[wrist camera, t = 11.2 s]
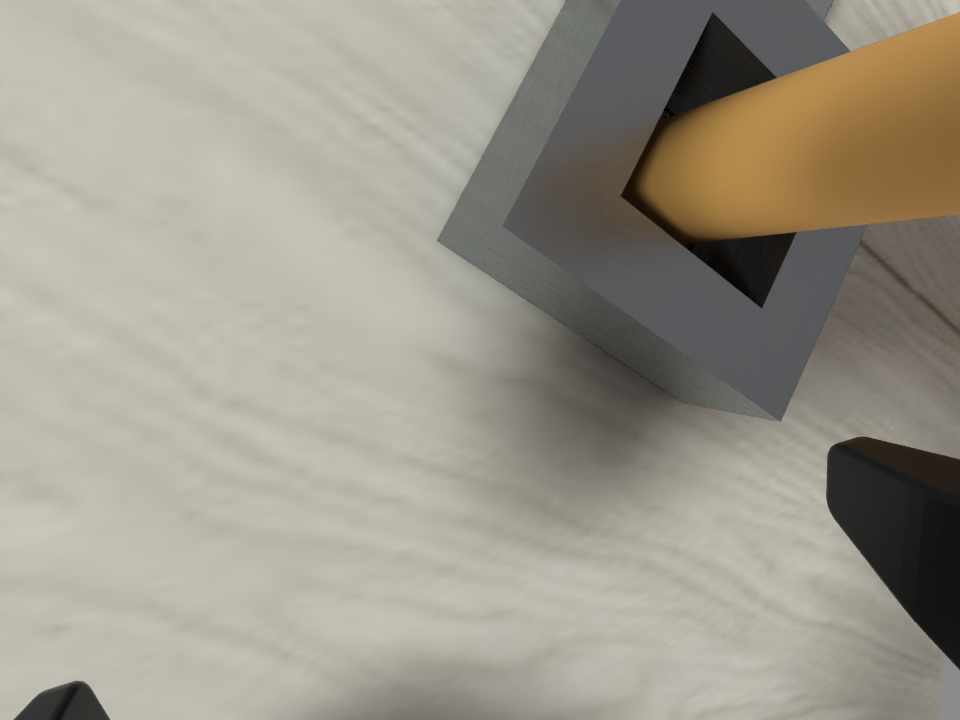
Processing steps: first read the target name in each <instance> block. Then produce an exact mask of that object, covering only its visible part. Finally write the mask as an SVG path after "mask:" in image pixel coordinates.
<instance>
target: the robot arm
mask: <svg viewBox="0 0 960 720" xmlns="http://www.w3.org/2000/svg"><path fill="white" fill-rule="evenodd" d="M826 499H827V504H828V507H829V510H830V512H831V514H832V516H833V517H834V519H835V520H836V522H837V523H838V524H839V526H840V527H841V528H842V529H843V531H844V532H845V533H846V535H847V536H848V537H849V539H850V540H851V541H852V542H853V544H854V545H855V546H856V548H857V549H858V550H859V551H860V553H861V554H862V555H863V557H864V558H865V559H866V560H867V562H868V563H869V564H870V566H871V567H872V568H873V569H874V571H875V572H876V573H877V575H878V576H879V577H880V579H881V580H882V581H883V582H884V584H885V585H886V586H887V588H888V589H889V590H890V591H891V593H892V594H893V595H894V597H895V598H896V599H897V600H898V602H899V603H900V604H901V605H902V607H903V608H904V609H905V610H906V611H907V613H908V614H909V615H910V616H911V618H912V619H913V620H914V621H915V622H916V623H917V624H918V625H919V627H920V628H921V629H922V630H923V631H924V632H925V633H926V634H927V635H928V637H929V638H930V639H931V640H932V641H933V642H934V643H935V644H936V645H937V646H938V647H939V648H940V649H941V650H942V652H943V653H944V654H945V655H946V656H947V657H948V658H949V659H950V660H951V661H952V662H953V663H954V664H955V665H956V666H957V667H958V669H959V670H960V459H956V458H952V457H948V456H944V455H940V454H935V453H931V452H927V451H923V450H919V449H915V448H910V447H906V446H902V445H898V444H894V443H890V442H885V441H881V440H877V439H873V438H869V437H857V438H853V439H850V440H847V441H844V442H840V443H837V444H835V445H833V446H832V447H831V448H830V450H829V452H828V456H827V490H826ZM14 720H110V718H109V717H108V715H107V714H106V712H105V710H104V709H103V707H102V705H101V704H100V702H99V701H98V699H97V697H96V696H95V694H94V692H93V691H92V689H91V688H90V687H89V685H88V684H86V683H85V682H83V681H73V682H70V683H67V684H64V685H60V686H57V687H54V688H51V689H48V690H45V691H43V692H41V693H40V694H38V695H37V696H36V697H35V698H34V699H33V700H32V701H31V702H30V703H29V704H28V705H27V706H26V707H25V708H24V709H23V711H22V712H21V713H20V714H19V715H18V716H17V717H16V718H15V719H14Z"/></svg>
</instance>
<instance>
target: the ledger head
mask: <svg viewBox="0 0 960 720" xmlns="http://www.w3.org/2000/svg"><path fill="white" fill-rule="evenodd" d="M833 1H834V0H566V2H565V3H564V5H563V7H562V9H561V11H560V13H559V15H558V17H557V18H556V20H555V22H554V24H553V26H552V28H551V30H550V31H549V33H548V35H547V37H546V39H545V41H544V43H543V44H542V46H541V48H540V50H539V52H538V54H537V56H536V57H535V59H534V61H533V63H532V65H531V67H530V69H529V70H528V72H527V74H526V76H525V78H524V80H523V82H522V83H521V85H520V87H519V89H518V91H517V93H516V95H515V96H514V98H513V100H512V102H511V104H510V106H509V108H508V109H507V111H506V113H505V115H504V117H503V119H502V121H501V122H500V124H499V126H498V128H497V130H496V132H495V134H494V135H493V137H492V139H491V141H490V143H489V145H488V147H487V149H486V150H485V152H484V154H483V156H482V158H481V160H480V162H479V163H478V165H477V167H476V169H475V171H474V173H473V175H472V176H471V178H470V180H469V182H468V184H467V186H466V188H465V189H464V191H463V193H462V195H461V197H460V199H459V201H458V202H457V204H456V206H455V208H454V210H453V212H452V214H451V215H450V217H449V219H448V221H447V223H446V225H445V227H444V228H443V230H442V232H441V234H440V236H439V238H438V240H437V241H438V242H439V243H441V244H442V245H444V246H445V247H447V248H448V249H450V250H452V251H453V252H455V253H456V254H458V255H459V256H461V257H462V258H464V259H465V260H467V261H468V262H470V263H471V264H473V265H474V266H476V267H477V268H479V269H480V270H482V271H483V272H485V273H486V274H488V275H489V276H491V277H492V278H494V279H496V280H497V281H499V282H500V283H502V284H503V285H505V286H506V287H508V288H509V289H511V290H512V291H514V292H515V293H517V294H518V295H520V296H521V297H523V298H524V299H526V300H527V301H529V302H530V303H532V304H533V305H535V306H536V307H538V308H540V309H541V310H543V311H544V312H546V313H547V314H549V315H550V316H552V317H553V318H555V319H556V320H558V321H559V322H561V323H562V324H564V325H565V326H567V327H568V328H570V329H571V330H573V331H574V332H576V333H577V334H579V335H580V336H582V337H583V338H585V339H587V340H588V341H590V342H591V343H593V344H594V345H596V346H597V347H599V348H600V349H602V350H603V351H605V352H606V353H608V354H609V355H611V356H612V357H614V358H615V359H617V360H618V361H620V362H621V363H623V364H624V365H626V366H627V367H629V368H631V369H632V370H634V371H635V372H637V373H638V374H640V375H641V376H643V377H644V378H646V379H647V380H649V381H650V382H652V383H653V384H655V385H656V386H658V387H659V388H661V389H662V390H664V391H665V392H667V393H668V394H670V395H671V396H673V397H675V398H676V399H678V400H679V401H681V402H682V403H686V404H691V405H696V406H702V407H707V408H712V409H717V410H722V411H728V412H733V413H738V414H743V415H749V416H754V417H759V418H764V419H769V420H775V421H780V422H781V420H782V417H783V415H784V413H785V411H786V408H787V406H788V404H789V402H790V399H791V397H792V395H793V392H794V390H795V388H796V386H797V383H798V381H799V379H800V377H801V374H802V372H803V370H804V368H805V365H806V363H807V361H808V358H809V356H810V354H811V352H812V349H813V347H814V345H815V343H816V340H817V338H818V336H819V334H820V331H821V329H822V327H823V324H824V322H825V320H826V318H827V315H828V313H829V311H830V309H831V306H832V304H833V302H834V300H835V297H836V295H837V293H838V290H839V288H840V286H841V284H842V281H843V279H844V277H845V275H846V272H847V270H848V268H849V266H850V263H851V261H852V259H853V256H854V254H855V252H856V250H857V247H858V245H859V243H860V241H861V238H862V236H863V234H864V232H865V229H866V227H867V225H868V224H867V225H857V226H848V227H839V228H829V229H820V230H811V231H802V232H792V233H783V234H774V235H764V236H755V237H746V238H736V239H727V240H718V241H708V242H699V243H695V245H694V247H693V249H692V251H691V252H690V251H689V250H687V249H686V248H685V247H684V246H682V245H681V244H680V243H679V242H677V241H676V240H675V239H674V238H672V237H671V236H670V235H669V234H667V233H666V232H665V231H664V230H662V229H661V228H660V227H659V226H657V225H656V224H655V223H653V222H652V221H651V220H650V219H648V218H647V217H646V216H645V215H643V214H642V213H641V212H640V211H638V210H637V209H636V208H635V207H633V206H632V205H631V204H630V203H628V202H627V201H626V200H625V199H623V198H622V197H621V194H622V192H623V190H624V188H625V186H626V184H627V182H628V180H629V178H630V176H631V174H632V172H633V170H634V168H635V166H636V164H637V162H638V160H639V158H640V156H641V154H642V152H643V150H644V148H645V146H646V144H647V142H648V140H649V138H650V136H651V134H652V132H653V130H654V128H655V126H656V124H657V122H658V120H659V118H660V116H661V114H662V112H663V110H664V108H665V106H666V107H667V108H668V109H669V110H670V111H671V112H672V113H673V114H675V115H676V114H679V113H682V112H684V111H687V110H690V109H693V108H696V107H698V106H701V105H704V104H707V103H709V102H712V101H715V100H718V99H721V98H723V97H726V96H729V95H732V94H734V93H737V92H740V91H743V90H746V89H748V88H751V87H754V86H757V85H759V84H762V83H765V82H768V81H771V80H773V79H776V78H779V77H782V76H784V75H787V74H790V73H793V72H796V71H798V70H801V69H804V68H807V67H809V66H812V65H815V64H818V63H821V62H823V61H826V60H829V59H832V58H834V57H837V56H840V55H843V54H846V53H848V52H850V51H849V49H848V48H847V47H846V46H845V45H844V44H843V43H842V42H841V40H840V39H839V38H838V37H837V36H836V35H835V34H834V33H833V31H832V30H831V29H830V28H829V27H828V26H827V25H826V24H825V22H824V20H825V17H826V15H827V13H828V11H829V9H830V7H831V5H832V3H833Z"/></svg>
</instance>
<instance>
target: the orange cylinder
mask: <svg viewBox="0 0 960 720" xmlns="http://www.w3.org/2000/svg"><path fill="white" fill-rule="evenodd" d="M621 197H622V198H623V199H625V200H626V201H627V202H628V203H630V204H631V205H632V206H633V207H635V208H636V209H637V210H638V211H640V212H641V213H642V214H643V215H645V216H646V217H647V218H648V219H650V220H651V221H652V222H653V223H655V224H656V225H657V226H659V227H660V228H661V229H662V230H664V231H665V232H666V233H667V234H669V235H670V236H671V237H672V238H674V239H675V240H676V241H677V242H679V243H680V244H690V243H699V242H708V241H718V240H727V239H736V238H746V237H755V236H764V235H774V234H783V233H792V232H802V231H811V230H820V229H829V228H839V227H848V226H857V225H867V224H876V223H885V222H895V221H904V220H913V219H923V218H932V217H941V216H951V215H960V13H957V14H954V15H951V16H948V17H946V18H943V19H940V20H937V21H934V22H932V23H929V24H926V25H923V26H921V27H918V28H915V29H912V30H909V31H907V32H904V33H901V34H898V35H896V36H893V37H890V38H887V39H884V40H882V41H879V42H876V43H873V44H871V45H868V46H865V47H862V48H859V49H857V50H854V51H851V52H848V53H846V54H843V55H840V56H837V57H834V58H832V59H829V60H826V61H823V62H821V63H818V64H815V65H812V66H809V67H807V68H804V69H801V70H798V71H796V72H793V73H790V74H787V75H784V76H782V77H779V78H776V79H773V80H771V81H768V82H765V83H762V84H759V85H757V86H754V87H751V88H748V89H746V90H743V91H740V92H737V93H734V94H732V95H729V96H726V97H723V98H721V99H718V100H715V101H712V102H709V103H707V104H704V105H701V106H698V107H696V108H693V109H690V110H687V111H684V112H682V113H679V114H676V115H673V116H670V117H668V118H665V119H662V120H659V121H658V122H657V124H656V126H655V128H654V130H653V132H652V134H651V136H650V138H649V140H648V142H647V144H646V146H645V148H644V150H643V152H642V154H641V156H640V158H639V160H638V162H637V164H636V166H635V168H634V170H633V172H632V174H631V176H630V178H629V180H628V182H627V184H626V186H625V188H624V190H623V192H622V194H621Z"/></svg>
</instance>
